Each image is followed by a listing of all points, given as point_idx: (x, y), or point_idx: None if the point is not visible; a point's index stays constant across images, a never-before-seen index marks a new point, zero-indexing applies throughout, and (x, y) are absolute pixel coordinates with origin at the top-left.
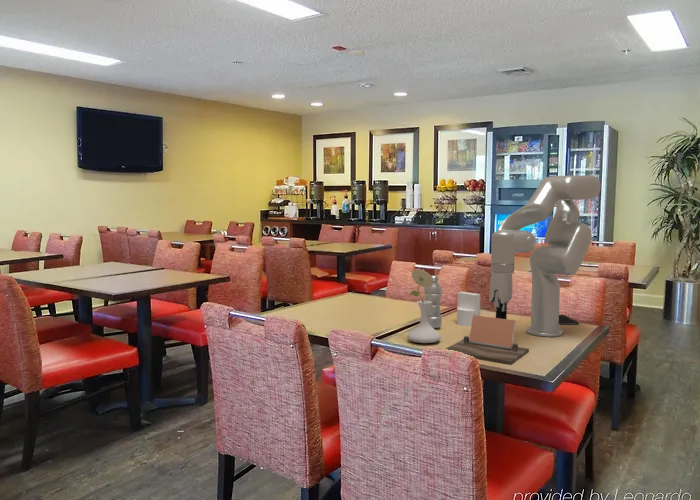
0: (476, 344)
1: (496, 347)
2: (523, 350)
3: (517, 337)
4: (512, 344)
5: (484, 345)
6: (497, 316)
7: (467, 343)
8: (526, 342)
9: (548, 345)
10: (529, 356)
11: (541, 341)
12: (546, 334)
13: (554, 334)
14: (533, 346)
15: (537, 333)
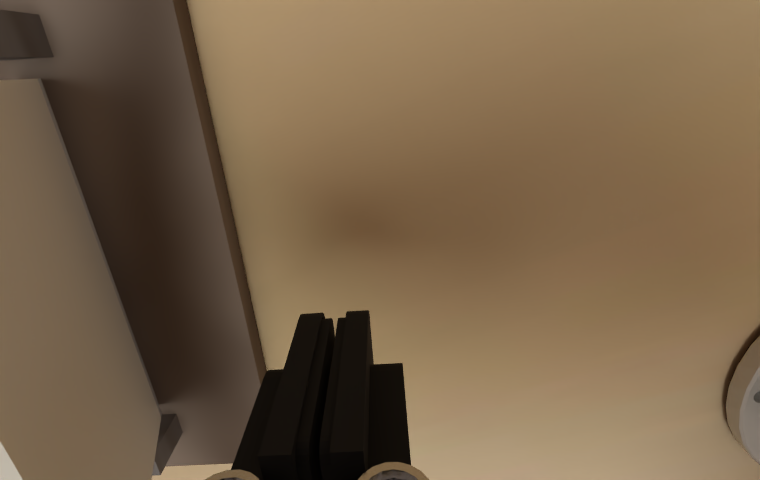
0: (70, 146)
1: (133, 310)
2: (210, 453)
3: (628, 271)
4: (157, 433)
5: (103, 218)
6: (254, 410)
7: (14, 59)
8: (502, 367)
9: (499, 473)
10: (191, 471)
11: (582, 423)
12: (737, 429)
13: (757, 461)
14: (422, 426)
15: (748, 380)
